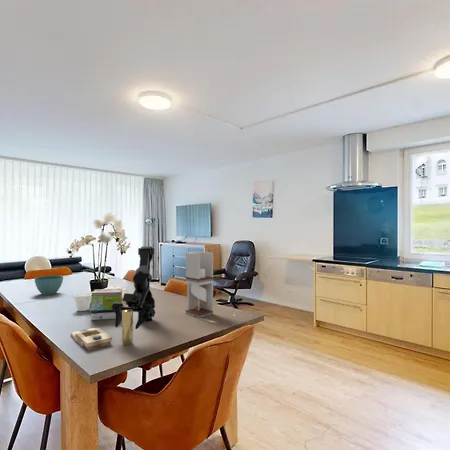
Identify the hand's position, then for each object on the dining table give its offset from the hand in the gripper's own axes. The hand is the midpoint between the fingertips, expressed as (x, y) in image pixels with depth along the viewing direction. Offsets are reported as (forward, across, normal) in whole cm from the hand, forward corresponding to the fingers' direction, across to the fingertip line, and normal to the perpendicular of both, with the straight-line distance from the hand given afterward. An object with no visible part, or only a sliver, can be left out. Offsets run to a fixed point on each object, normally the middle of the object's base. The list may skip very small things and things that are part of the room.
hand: (125, 327), depth 125 cm
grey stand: (-31, +16, +41) cm, 54 cm away
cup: (-25, -54, +35) cm, 69 cm away
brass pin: (+4, 0, +6) cm, 7 cm away
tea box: (-18, -32, +29) cm, 47 cm away
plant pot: (-48, -108, +58) cm, 132 cm away
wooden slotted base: (+4, -18, +6) cm, 19 cm away
